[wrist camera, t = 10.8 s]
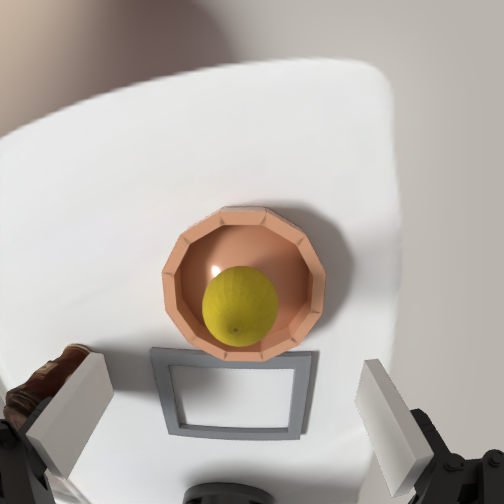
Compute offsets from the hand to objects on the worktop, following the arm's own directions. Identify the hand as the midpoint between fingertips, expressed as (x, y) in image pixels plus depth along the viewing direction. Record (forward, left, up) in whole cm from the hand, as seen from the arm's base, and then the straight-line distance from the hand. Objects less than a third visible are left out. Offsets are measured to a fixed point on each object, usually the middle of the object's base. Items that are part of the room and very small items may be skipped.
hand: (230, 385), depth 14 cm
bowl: (0, 0, -14) cm, 14 cm away
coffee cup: (-11, +19, -14) cm, 26 cm away
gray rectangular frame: (-14, +1, -14) cm, 19 cm away
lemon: (0, 0, -13) cm, 13 cm away
